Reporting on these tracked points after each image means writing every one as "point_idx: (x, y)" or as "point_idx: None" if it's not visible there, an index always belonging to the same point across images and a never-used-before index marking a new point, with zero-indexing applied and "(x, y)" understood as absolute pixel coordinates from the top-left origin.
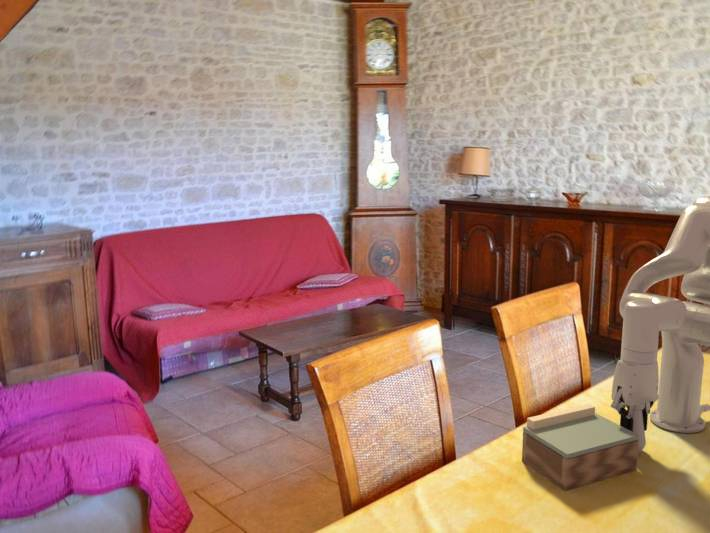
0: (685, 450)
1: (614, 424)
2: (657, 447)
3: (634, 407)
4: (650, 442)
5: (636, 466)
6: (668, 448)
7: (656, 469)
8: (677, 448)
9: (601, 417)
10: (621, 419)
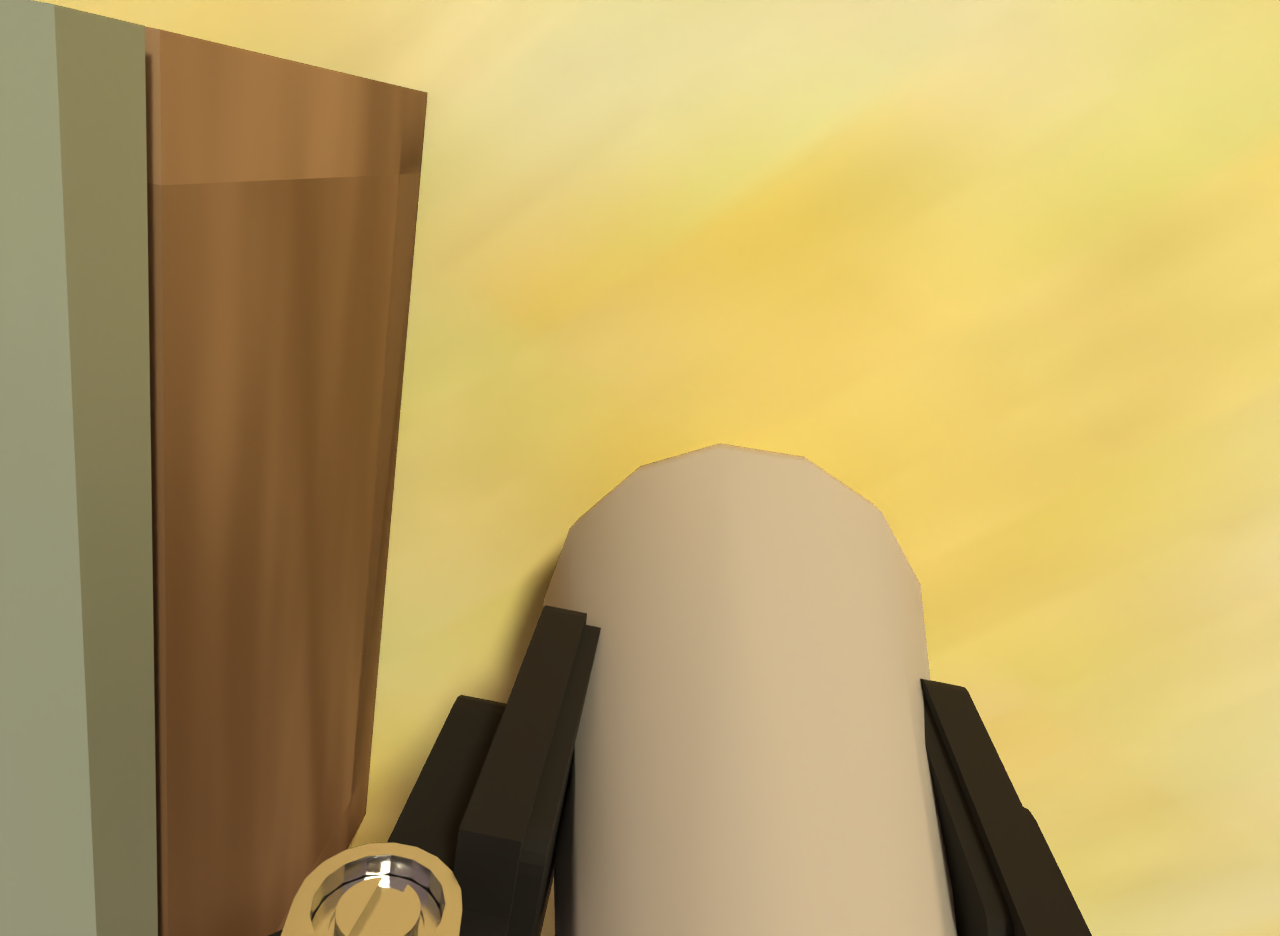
0: (1226, 913)
1: (25, 874)
2: (1061, 708)
3: None
4: (1142, 593)
5: (349, 841)
6: (1134, 791)
7: (551, 913)
8: (1214, 847)
9: (2, 499)
10: (403, 824)
